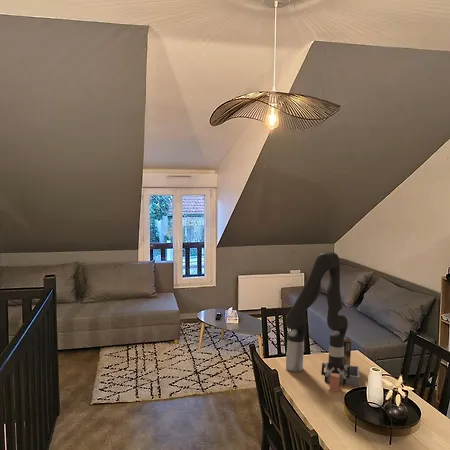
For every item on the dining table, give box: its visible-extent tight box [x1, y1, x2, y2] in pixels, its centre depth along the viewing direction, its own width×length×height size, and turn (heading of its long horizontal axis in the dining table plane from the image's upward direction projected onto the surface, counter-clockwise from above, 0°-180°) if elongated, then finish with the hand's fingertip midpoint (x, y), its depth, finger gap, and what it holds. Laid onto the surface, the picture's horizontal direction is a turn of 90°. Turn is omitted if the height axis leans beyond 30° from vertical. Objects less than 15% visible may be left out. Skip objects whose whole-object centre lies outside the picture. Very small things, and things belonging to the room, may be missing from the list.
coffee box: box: [344, 337, 352, 366], centre depth 254 cm, size 9×6×16 cm
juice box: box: [329, 373, 340, 392], centre depth 226 cm, size 4×4×7 cm
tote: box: [324, 362, 361, 387], centre depth 238 cm, size 18×14×5 cm
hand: (335, 383), depth 226 cm, fingers open, 8 cm apart
